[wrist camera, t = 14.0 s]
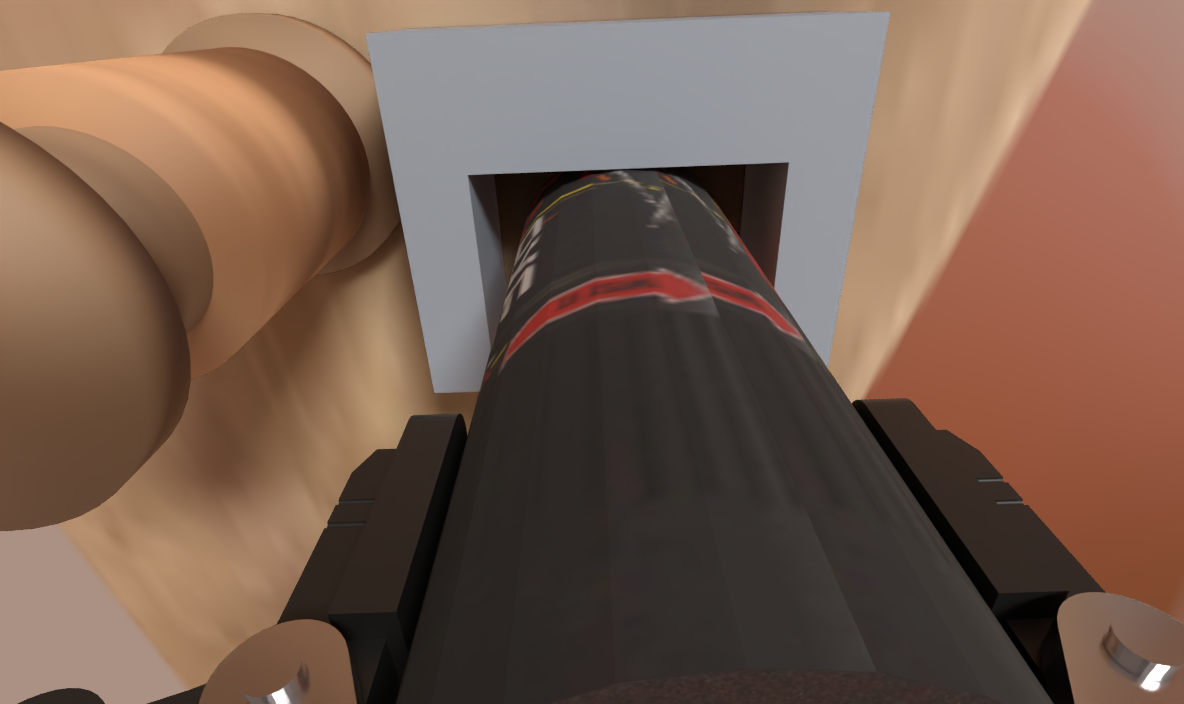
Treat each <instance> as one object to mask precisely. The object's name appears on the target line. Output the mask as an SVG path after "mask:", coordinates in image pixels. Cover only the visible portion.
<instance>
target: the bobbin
mask: <svg viewBox="0 0 1184 704" xmlns="http://www.w3.org/2000/svg"><path fill="white" fill-rule="evenodd" d="M400 221H401V217H400V212H399V206H398V201H397V196H396V191H395V186H394V180H393V175H392V170H391V165H390V159H389V154H388V149H387V144H386V139H385V133H384V128H383V123H382V118H381V113H380V107H379V102H378V97H377V92H376V87H375V81H374V76H373V71H372V66H371V64H370V63H369V62H368V61H367V60H366V59H365V58H364V57H363V56H362V55H361V54H360V53H359V52H358V51H357V50H355V49H354V48H353V47H352V46H350V45H349V44H348V43H346V42H345V41H344V40H342V39H341V38H339V37H337V36H336V35H334V34H332V33H331V32H329V31H327V30H325V29H323V28H321V27H319V26H317V25H314V24H312V23H310V22H307V21H304V20H300V19H297V18H294V17H289V16H284V15H278V14H261V13H248V14H231V15H223V16H218V17H215V18H211V19H208V20H204V21H202V22H200V23H198V24H196V25H194V26H192V27H190V28H188V29H187V30H186V31H184V32H183V33H182V34H180V35H179V36H177V37H176V38H175V39H174V40H173V41H172V42H171V43H170V44H169V45H168V46H167V48H166V49H165V50H164V51H163V53H162V54H156V55H147V56H137V57H128V58H118V59H109V60H99V61H90V62H80V63H71V64H61V65H52V66H42V67H33V68H23V69H14V70H5V71H0V531H13V530H23V529H34V528H39V527H44V526H49V525H54V524H58V523H61V522H64V521H67V520H70V519H73V518H76V517H79V516H81V515H83V514H85V513H87V512H89V511H90V510H92V509H94V508H96V507H98V506H99V505H101V504H102V503H103V502H105V501H106V500H107V499H109V498H110V497H111V496H113V495H114V494H115V493H116V492H117V491H118V490H119V489H120V488H121V487H122V486H123V485H124V484H125V483H126V482H127V481H128V480H129V479H130V478H131V477H132V476H133V475H134V474H135V472H136V471H137V470H138V469H139V468H140V467H141V466H142V465H143V464H144V463H145V462H146V461H147V460H148V459H149V458H150V457H151V456H152V455H153V454H154V453H155V452H156V451H157V450H158V449H159V448H160V447H161V445H162V444H163V443H164V442H165V441H166V440H167V439H168V438H169V437H170V435H171V434H172V432H173V431H174V429H175V427H176V426H177V424H178V422H179V421H180V419H181V417H182V414H183V411H184V408H185V405H186V403H187V400H188V394H189V387H190V381H191V380H192V379H195V378H197V377H200V376H203V375H205V374H207V373H209V372H211V371H213V370H214V369H216V368H218V367H220V366H221V365H222V364H223V363H225V362H226V361H227V360H228V359H230V358H231V357H232V356H233V355H234V354H235V353H236V352H237V351H238V350H239V349H240V348H241V347H242V346H243V345H244V344H245V343H246V342H247V341H248V340H249V339H250V338H251V337H252V336H253V335H254V334H256V333H257V332H258V331H259V330H260V329H261V328H262V327H263V326H264V325H265V324H266V323H267V322H268V321H269V320H270V319H271V318H272V317H273V316H274V315H275V314H276V313H277V312H278V311H279V310H280V309H281V308H282V307H283V306H284V305H285V304H286V303H287V302H288V301H289V300H290V299H291V298H292V297H293V296H294V295H295V294H296V293H297V292H298V291H299V290H300V289H301V288H302V287H303V286H304V285H305V284H306V283H307V282H308V281H309V280H310V279H311V278H312V277H313V276H314V275H321V274H328V273H332V272H337V271H341V270H343V269H346V268H348V267H351V266H353V265H355V264H357V263H359V262H360V261H362V260H364V259H366V258H367V257H368V256H369V255H371V254H372V253H373V252H374V251H376V250H377V249H378V248H379V247H380V245H381V244H382V243H383V242H384V241H385V240H386V239H387V238H388V237H389V235H390V234H391V233H392V232H393V231H394V230H395V228H396V227H397V225H398V224H399V222H400Z"/></svg>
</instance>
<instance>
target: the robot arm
mask: <svg viewBox="0 0 1184 704" xmlns="http://www.w3.org/2000/svg"><path fill="white" fill-rule="evenodd" d="M852 405H853V407H854V408H855V409H856V411H857V412H858V414H859V415H860V417H861V418H862V420H863V421H864V423H865V424H866V426H867V427H868V429H869V430H870V432H871V433H872V435H873V436H874V438H875V439H876V441H877V442H878V444H879V445H880V447H881V448H882V450H883V451H884V453H885V454H886V456H887V457H888V458H889V460H890V461H891V463H892V464H893V466H894V467H895V469H896V470H897V472H898V473H899V475H900V476H901V478H902V479H903V481H904V482H905V484H906V485H907V487H908V488H909V490H910V491H911V493H912V494H913V496H914V497H915V499H916V500H917V502H918V503H919V505H920V506H921V508H922V509H923V510H924V512H925V513H926V515H927V516H928V518H929V519H930V521H931V522H932V524H933V525H934V527H935V528H936V530H937V531H938V533H939V534H940V536H941V537H942V539H943V540H944V542H945V543H946V545H947V546H948V548H949V549H950V551H951V552H952V554H953V555H954V557H955V558H956V559H957V561H958V562H959V564H960V565H961V567H962V568H963V570H964V571H965V573H966V574H967V576H968V577H969V579H970V580H971V582H972V583H973V585H974V586H975V588H976V589H977V591H978V592H979V594H980V595H981V597H982V598H983V600H984V601H985V603H986V604H987V606H988V607H989V609H990V610H991V611H992V613H993V614H994V616H995V617H996V619H997V620H998V622H999V623H1000V625H1001V626H1002V628H1003V629H1004V631H1005V632H1006V634H1007V635H1008V637H1009V638H1010V640H1011V641H1012V643H1013V644H1014V646H1015V647H1016V649H1017V650H1018V652H1019V653H1020V655H1021V656H1022V658H1023V659H1024V660H1025V662H1026V663H1027V665H1028V666H1029V668H1030V669H1031V671H1032V672H1033V674H1034V675H1035V677H1036V678H1037V680H1038V681H1039V683H1040V684H1041V686H1042V687H1043V689H1044V690H1045V692H1046V693H1047V695H1048V696H1049V698H1050V699H1051V701H1052V702H1053V704H1184V624H1182V623H1181V622H1179V621H1177V620H1176V619H1174V618H1172V617H1171V616H1169V615H1168V614H1166V613H1164V612H1162V611H1160V610H1158V609H1156V608H1154V607H1152V606H1149V605H1147V604H1144V603H1142V602H1139V601H1137V600H1133V599H1131V598H1127V597H1124V596H1120V595H1115V594H1111V593H1106V592H1105V591H1104V590H1103V589H1102V588H1101V587H1100V586H1099V584H1098V583H1097V582H1096V581H1095V580H1094V579H1093V578H1092V577H1091V575H1089V573H1088V572H1087V571H1086V570H1085V569H1084V568H1083V566H1082V565H1081V564H1080V563H1079V562H1078V561H1077V560H1076V559H1075V557H1074V556H1073V555H1072V554H1071V553H1070V552H1069V551H1068V550H1067V549H1066V548H1065V546H1064V545H1063V544H1062V543H1061V542H1060V541H1059V539H1058V538H1057V537H1056V536H1055V535H1054V534H1053V533H1052V532H1051V531H1050V529H1049V528H1048V527H1047V526H1046V525H1045V524H1044V523H1043V522H1042V520H1041V519H1040V518H1039V517H1038V516H1037V515H1036V514H1035V513H1034V511H1033V510H1032V509H1031V508H1030V507H1029V506H1028V505H1023V502H1022V500H1023V499H1022V498H1021V497H1020V496H1019V495H1018V494H1017V492H1016V491H1015V490H1014V489H1013V488H1012V487H1011V486H1010V485H1009V483H1004V482H1003V477H1002V476H1001V474H1000V473H999V472H998V471H997V470H996V469H995V468H994V467H993V465H992V464H991V463H990V462H989V461H988V460H987V459H986V457H985V456H984V455H983V454H982V453H981V452H980V451H979V450H977V449H976V448H974V447H973V446H971V445H969V444H968V443H966V442H965V441H963V440H962V439H960V438H958V437H957V436H955V435H954V434H952V433H951V432H949V431H948V430H936V429H935V428H934V427H933V426H932V425H931V424H930V422H929V421H928V420H927V419H926V417H925V416H924V415H923V414H922V413H921V411H920V410H919V409H918V408H917V407H916V405H915V404H914V403H913V402H912V401H911V400H909V399H906V398H900V399H899V398H898V399H873V400H872V399H870V400H855V401H854V402H853V403H852ZM466 440H467V431H466V425H465V421H464V418H463V416H462V415H461V414H437V415H413V416H411V417H410V419H409V421H408V423H407V425H406V428H405V430H404V432H403V435H402V437H401V439H400V442H399V444H398V447H397V449H377V450H376V451H375V452H374V453H373V454H372V455H371V456H369V457H368V458H367V459H366V460H365V461H364V462H363V463H362V464H361V465H360V466H359V467H358V468H357V469H355V470H354V471H353V472H352V474H351V476H350V478H349V480H348V482H347V484H346V486H345V488H344V490H343V492H342V494H341V496H340V498H339V505H336V506H335V508H334V510H333V512H332V514H331V516H330V518H329V520H328V522H327V523H328V526H327V528H325V529H324V530H323V532H322V534H321V536H320V538H319V540H318V542H317V544H316V546H315V548H314V551H313V553H312V555H311V557H310V559H309V561H308V563H307V565H306V567H305V569H304V571H303V573H302V575H301V577H300V579H299V581H298V583H297V585H296V587H295V589H294V591H293V593H292V595H291V597H290V599H289V601H288V603H287V605H286V607H285V609H284V611H283V613H282V615H281V617H280V619H279V621H278V623H277V624H276V625H274V626H272V627H269V628H267V629H265V630H263V631H261V632H259V633H257V634H255V635H254V636H252V637H250V638H249V639H247V640H246V641H245V642H243V643H242V644H240V645H239V646H238V647H237V648H235V649H234V650H233V651H232V652H231V653H230V654H229V655H228V656H227V657H226V658H225V659H224V660H223V661H222V662H221V663H220V664H219V665H218V667H217V668H216V669H215V671H214V672H213V674H212V675H211V676H210V678H209V680H208V682H207V683H206V684H204V685H201V686H199V687H196V688H194V689H191V690H188V691H185V692H182V693H179V694H176V695H173V696H169V697H166V698H163V699H160V700H157V701H154V702H151V703H148V704H396V700H397V696H398V693H399V689H400V685H401V681H402V678H403V674H404V670H405V667H406V663H407V659H408V655H409V652H410V648H411V644H412V641H413V637H414V633H415V629H416V626H417V622H418V618H419V614H420V611H421V607H422V603H423V600H424V596H425V592H426V588H427V585H428V581H429V577H430V574H431V570H432V566H433V562H434V559H435V555H436V551H437V548H438V544H439V540H440V536H441V533H442V529H443V525H444V521H445V518H446V514H447V510H448V507H449V503H450V499H451V495H452V492H453V488H454V484H455V481H456V477H457V473H458V469H459V466H460V462H461V458H462V455H463V451H464V447H465V443H466ZM18 704H105V703H104V702H103V700H102V699H101V698H100V697H99V696H98V695H97V694H95V693H93V692H91V691H89V690H85V689H80V688H67V689H59V690H54V691H50V692H47V693H43V694H40V695H37V696H35V697H32V698H29V699H27V700H24V701H23V702H20V703H18Z"/></svg>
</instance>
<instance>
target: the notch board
mask: <svg viewBox="0 0 1184 704" xmlns="http://www.w3.org/2000/svg"><path fill="white" fill-rule="evenodd" d="M889 17H890V12H830V11H824V12H800V13H775V14H751V15H727V16H703V17H679V18H655V19H630V20H606V21H582V22H558V23H534V24H510V25H485V26H461V27H437V28H413V29H403V30H394V31H385V32H376V33H367V34H366V40H367V45H368V50H369V55H370V61H371V66H372V71H373V76H374V81H375V87H376V92H377V97H378V102H379V107H380V113H381V118H382V123H383V128H384V133H385V139H386V144H387V149H388V154H389V159H390V165H391V170H392V175H393V180H394V186H395V191H396V196H397V201H398V206H399V212H400V217H401V222H402V227H403V232H404V238H405V243H406V248H407V253H408V258H409V264H410V269H411V274H412V279H413V284H414V290H415V295H416V300H417V305H418V310H419V316H420V321H421V326H422V331H423V337H424V342H425V347H426V352H427V357H428V363H429V368H430V373H431V378H432V383H433V389H434V393H455V392H479V391H480V388H481V384H482V380H483V376H484V373H485V369H486V365H487V362H488V358H489V354H490V350H491V347H492V343H493V339H494V336H495V332H496V328H497V324H498V321H499V317H500V313H501V309H502V306H503V302H504V298H505V295H506V291H507V285H506V276H505V267H504V258H503V249H502V240H501V232H500V223H499V214H498V205H497V196H496V187H495V178H494V174H505V173H531V172H556V171H581V170H607V169H632V168H658V167H683V166H708V165H734V164H746V172H745V184H744V196H743V208H742V220H741V232H740V239H741V240H742V242H743V243H744V245H745V246H746V248H747V249H748V251H749V252H750V254H751V255H752V256H753V258H754V259H755V261H756V262H757V264H758V265H759V267H760V268H761V270H762V271H763V273H764V274H765V276H766V277H767V279H768V280H769V282H770V283H771V285H772V286H773V288H774V289H775V291H776V292H777V294H778V295H779V297H780V298H781V300H782V301H783V303H784V304H785V306H786V307H787V308H788V310H789V311H790V313H791V314H792V316H793V317H794V319H795V320H796V322H797V323H798V325H799V326H800V328H801V329H802V331H803V332H804V334H805V335H806V337H807V338H808V340H809V341H810V343H811V344H812V346H813V347H814V349H815V350H816V352H817V353H818V355H819V356H820V357H821V359H822V360H823V362H824V363H825V365H826V366H827V368H828V364H829V359H830V353H831V347H832V342H833V336H834V330H835V324H836V319H837V313H838V307H839V302H840V296H841V290H842V285H843V279H844V273H845V267H846V262H847V256H848V250H849V245H850V239H851V233H852V228H853V222H854V216H855V210H856V205H857V199H858V193H859V188H860V182H861V176H862V171H863V165H864V159H865V153H866V148H867V142H868V136H869V131H870V125H871V119H872V114H873V108H874V102H875V96H876V91H877V85H878V79H879V74H880V68H881V62H882V57H883V51H884V45H885V39H886V34H887V28H888V22H889Z"/></svg>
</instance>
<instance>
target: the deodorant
mask: <svg viewBox="0 0 1184 704" xmlns="http://www.w3.org/2000/svg"><path fill="white" fill-rule="evenodd" d="M396 704H1053V702H1052V701H1051V699H1050V698H1049V696H1048V695H1047V693H1046V692H1045V690H1044V689H1043V687H1042V686H1041V684H1040V683H1039V681H1038V680H1037V678H1036V677H1035V675H1034V674H1033V672H1032V671H1031V669H1030V668H1029V666H1028V665H1027V663H1026V662H1025V660H1024V659H1023V658H1022V656H1021V655H1020V653H1019V652H1018V650H1017V649H1016V647H1015V646H1014V644H1013V643H1012V641H1011V640H1010V638H1009V637H1008V635H1007V634H1006V632H1005V631H1004V629H1003V628H1002V626H1001V625H1000V623H999V622H998V620H997V619H996V617H995V616H994V614H993V613H992V611H991V610H990V609H989V607H988V606H987V604H986V603H985V601H984V600H983V598H982V597H981V595H980V594H979V592H978V591H977V589H976V588H975V586H974V585H973V583H972V582H971V580H970V579H969V577H968V576H967V574H966V573H965V571H964V570H963V568H962V567H961V565H960V564H959V562H958V561H957V559H956V558H955V557H954V555H953V554H952V552H951V551H950V549H949V548H948V546H947V545H946V543H945V542H944V540H943V539H942V537H941V536H940V534H939V533H938V531H937V530H936V528H935V527H934V525H933V524H932V522H931V521H930V519H929V518H928V516H927V515H926V513H925V512H924V510H923V509H922V508H921V506H920V505H919V503H918V502H917V500H916V499H915V497H914V496H913V494H912V493H911V491H910V490H909V488H908V487H907V485H906V484H905V482H904V481H903V479H902V478H901V476H900V475H899V473H898V472H897V470H896V469H895V467H894V466H893V464H892V463H891V461H890V460H889V458H888V457H887V456H886V454H885V453H884V451H883V450H882V448H881V447H880V445H879V444H878V442H877V441H876V439H875V438H874V436H873V435H872V433H871V432H870V430H869V429H868V427H867V426H866V424H865V423H864V421H863V420H862V418H861V417H860V415H859V414H858V412H857V411H856V409H855V408H854V407H853V405H852V404H851V402H850V401H849V399H848V398H847V396H846V395H845V393H844V392H843V390H842V389H841V387H840V386H839V384H838V383H837V381H836V380H835V378H834V377H833V375H832V374H831V372H830V371H829V369H828V368H827V366H826V365H825V363H824V362H823V360H822V359H821V357H820V356H819V355H818V353H817V352H816V350H815V349H814V347H813V346H812V344H811V343H810V341H809V340H808V338H807V337H806V335H805V334H804V332H803V331H802V329H801V328H800V326H799V325H798V323H797V322H796V320H795V319H794V317H793V316H792V314H791V313H790V311H789V310H788V308H787V307H786V306H785V304H784V303H783V301H782V300H781V298H780V297H779V295H778V294H777V292H776V291H775V289H774V288H773V286H772V285H771V283H770V282H769V280H768V279H767V277H766V276H765V274H764V273H763V271H762V270H761V268H760V267H759V265H758V264H757V262H756V261H755V259H754V258H753V256H752V255H751V254H750V252H749V251H748V249H747V248H746V246H745V245H744V243H743V242H742V240H741V239H740V237H739V236H738V234H737V233H736V231H735V230H734V228H733V227H732V225H731V224H730V222H729V221H728V219H727V218H726V216H725V215H724V213H723V212H722V210H721V209H720V207H719V206H718V205H717V203H716V202H715V200H714V199H713V197H712V196H711V194H710V193H709V192H708V191H707V189H706V188H705V187H704V185H703V184H702V183H701V182H700V180H699V179H698V178H697V177H696V175H695V174H693V173H692V172H690V171H689V170H688V169H686V168H685V167H684V166H683V167H658V168H632V169H607V170H581V171H559V172H557V173H556V174H555V175H554V176H553V177H552V178H551V179H550V180H549V181H547V182H546V183H545V184H544V186H543V187H542V189H541V190H540V192H539V193H538V195H537V197H536V198H535V200H534V201H533V203H532V204H531V206H530V208H529V211H528V215H527V218H526V221H525V225H524V228H523V231H522V235H521V239H520V243H519V246H518V250H517V254H516V257H515V261H514V265H513V269H512V272H511V276H510V280H509V283H508V287H507V291H506V295H505V298H504V302H503V306H502V309H501V313H500V317H499V321H498V324H497V328H496V332H495V336H494V339H493V343H492V347H491V350H490V354H489V358H488V362H487V365H486V369H485V373H484V376H483V380H482V384H481V388H480V391H479V395H478V399H477V402H476V406H475V410H474V414H473V417H472V421H471V425H470V429H469V432H468V436H467V440H466V443H465V447H464V451H463V455H462V458H461V462H460V466H459V469H458V473H457V477H456V481H455V484H454V488H453V492H452V495H451V499H450V503H449V507H448V510H447V514H446V518H445V521H444V525H443V529H442V533H441V536H440V540H439V544H438V548H437V551H436V555H435V559H434V562H433V566H432V570H431V574H430V577H429V581H428V585H427V588H426V592H425V596H424V600H423V603H422V607H421V611H420V614H419V618H418V622H417V626H416V629H415V633H414V637H413V641H412V644H411V648H410V652H409V655H408V659H407V663H406V667H405V670H404V674H403V678H402V681H401V685H400V689H399V693H398V696H397V700H396Z"/></svg>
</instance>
